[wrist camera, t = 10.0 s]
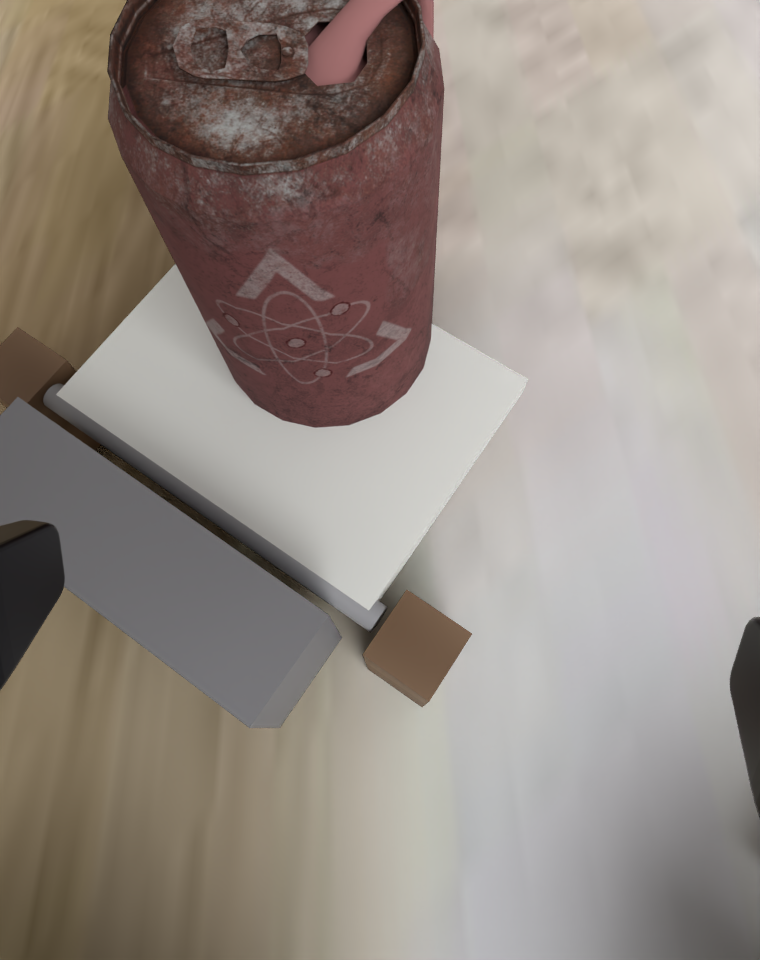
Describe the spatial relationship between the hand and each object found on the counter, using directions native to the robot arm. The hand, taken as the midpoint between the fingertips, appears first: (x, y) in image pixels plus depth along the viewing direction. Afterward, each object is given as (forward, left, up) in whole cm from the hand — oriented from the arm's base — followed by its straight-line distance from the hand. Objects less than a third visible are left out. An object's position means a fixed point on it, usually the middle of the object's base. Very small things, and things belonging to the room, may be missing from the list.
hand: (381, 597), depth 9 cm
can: (+7, +7, -14) cm, 17 cm away
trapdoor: (+3, +7, -12) cm, 14 cm away
